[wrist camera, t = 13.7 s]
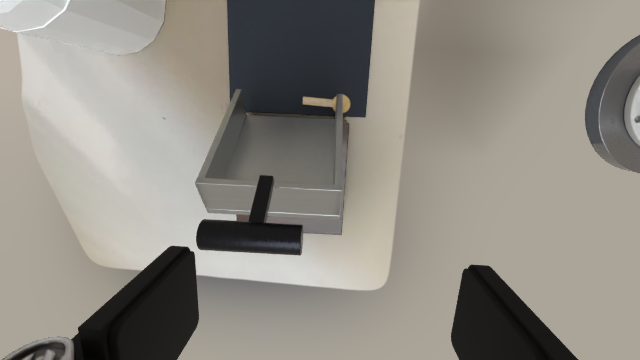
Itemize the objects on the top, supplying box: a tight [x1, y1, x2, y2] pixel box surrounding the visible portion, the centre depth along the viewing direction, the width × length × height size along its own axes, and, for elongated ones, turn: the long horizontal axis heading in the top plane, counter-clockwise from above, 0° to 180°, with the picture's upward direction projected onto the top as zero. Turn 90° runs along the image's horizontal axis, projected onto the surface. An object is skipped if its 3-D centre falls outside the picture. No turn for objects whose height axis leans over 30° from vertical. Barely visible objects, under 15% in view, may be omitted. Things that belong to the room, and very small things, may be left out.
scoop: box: [195, 89, 343, 255], centre depth 25 cm, size 19×11×6 cm
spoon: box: [303, 95, 350, 113], centre depth 39 cm, size 6×2×1 cm, turn 85°
